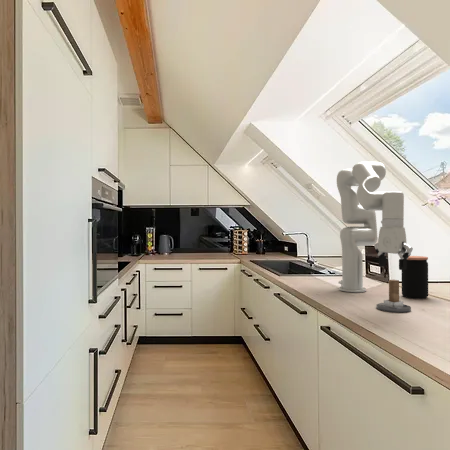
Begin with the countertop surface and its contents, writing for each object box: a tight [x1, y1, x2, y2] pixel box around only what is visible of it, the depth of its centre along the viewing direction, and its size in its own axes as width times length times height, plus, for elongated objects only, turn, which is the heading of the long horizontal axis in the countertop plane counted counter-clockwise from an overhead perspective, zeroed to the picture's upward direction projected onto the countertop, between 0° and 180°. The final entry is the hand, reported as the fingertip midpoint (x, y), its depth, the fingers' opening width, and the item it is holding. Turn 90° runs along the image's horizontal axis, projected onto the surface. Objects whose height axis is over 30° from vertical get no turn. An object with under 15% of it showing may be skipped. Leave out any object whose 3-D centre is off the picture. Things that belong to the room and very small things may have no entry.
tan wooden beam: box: [388, 279, 400, 302], centre depth 140 cm, size 2×2×10 cm
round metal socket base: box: [376, 299, 412, 314], centre depth 140 cm, size 12×12×3 cm
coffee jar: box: [401, 255, 429, 300], centre depth 164 cm, size 11×11×18 cm
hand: (392, 267), depth 141 cm, fingers open, 9 cm apart
